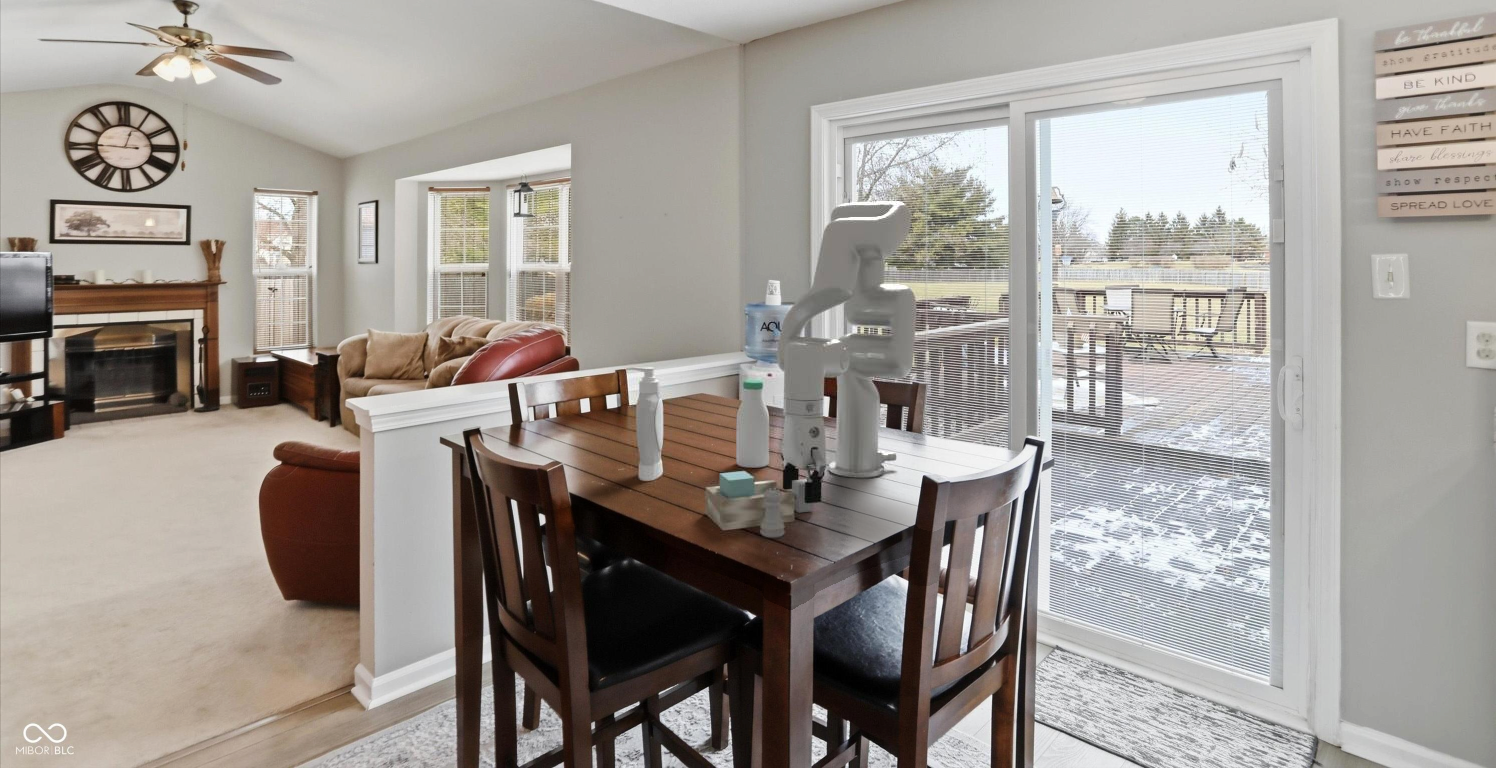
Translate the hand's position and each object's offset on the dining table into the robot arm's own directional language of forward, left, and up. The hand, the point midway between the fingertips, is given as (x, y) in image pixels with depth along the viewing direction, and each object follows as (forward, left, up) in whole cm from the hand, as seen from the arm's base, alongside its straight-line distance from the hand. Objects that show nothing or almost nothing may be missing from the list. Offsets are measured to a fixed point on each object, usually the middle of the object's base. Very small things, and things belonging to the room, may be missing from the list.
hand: (801, 495), depth 146 cm
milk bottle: (-4, -35, -3) cm, 36 cm away
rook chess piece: (+10, +9, -3) cm, 14 cm away
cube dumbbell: (+7, 0, -3) cm, 7 cm away
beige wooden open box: (+11, 0, -3) cm, 11 cm away
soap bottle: (+22, -35, -3) cm, 42 cm away
